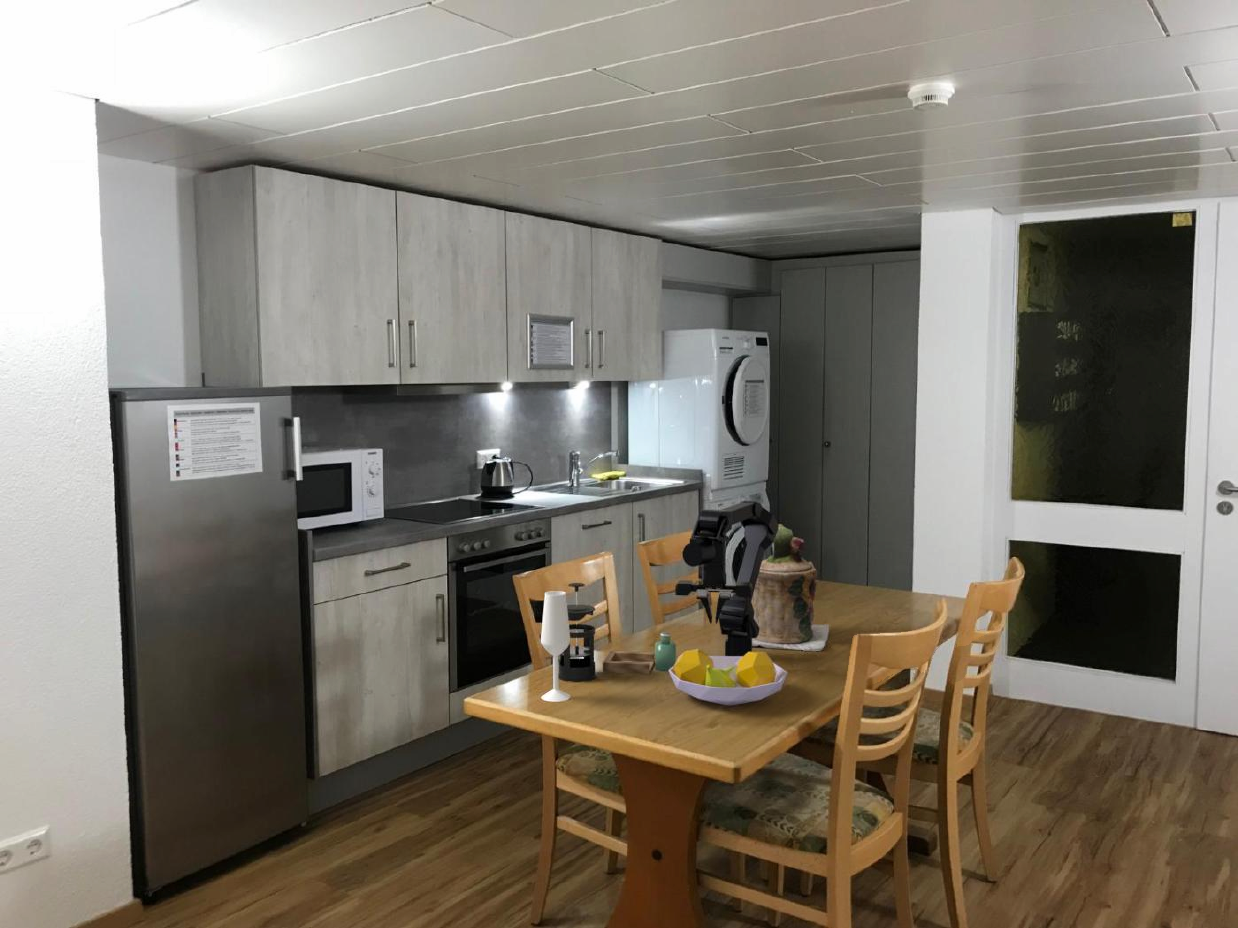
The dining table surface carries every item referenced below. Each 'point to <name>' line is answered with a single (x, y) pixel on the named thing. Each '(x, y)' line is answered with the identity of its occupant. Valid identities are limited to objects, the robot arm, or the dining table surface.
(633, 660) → the shallow wooden tray
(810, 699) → the dining table surface
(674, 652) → the bottle
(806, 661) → the dining table surface
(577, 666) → the french press
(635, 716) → the dining table surface
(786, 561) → the cookie jar
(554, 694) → the champagne flute
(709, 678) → the fruit bowl
